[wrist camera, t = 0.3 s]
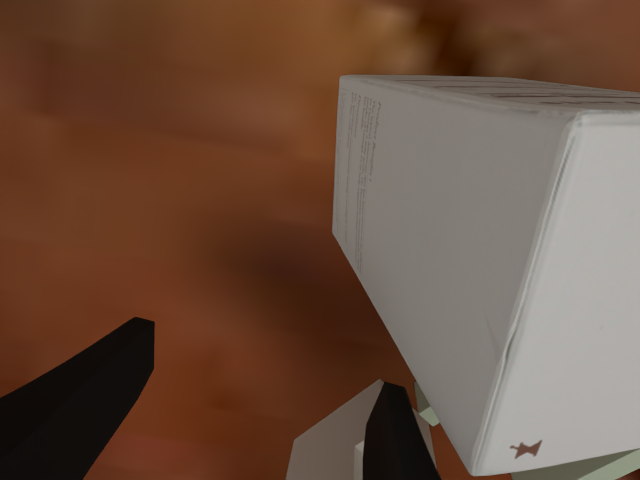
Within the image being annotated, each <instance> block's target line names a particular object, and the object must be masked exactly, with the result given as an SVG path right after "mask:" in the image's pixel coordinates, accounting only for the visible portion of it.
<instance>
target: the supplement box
mask: <svg viewBox="0 0 640 480" xmlns="http://www.w3.org/2000/svg"><path fill="white" fill-rule="evenodd" d="M332 234H333V235H334V236H335V238H336V240H337V241H338V243H339V245H340V247H341V249H342V251H343V252H344V254H345V256H346V258H347V259H348V261H349V263H350V265H351V266H352V268H353V270H354V271H355V273H356V275H357V277H358V279H359V280H360V282H361V284H362V286H363V287H364V289H365V291H366V293H367V294H368V296H369V298H370V300H371V302H372V304H373V305H374V307H375V309H376V310H377V312H378V314H379V316H380V317H381V319H382V321H383V323H384V324H385V326H386V328H387V330H388V331H389V333H390V335H391V337H392V339H393V340H394V342H395V344H396V346H397V347H398V349H399V351H400V353H401V354H402V356H403V358H404V360H405V362H406V363H407V365H408V367H409V369H410V370H411V372H412V374H413V376H414V377H415V379H416V381H417V383H418V384H419V386H420V388H421V390H422V392H423V393H424V395H425V397H426V399H427V400H428V402H429V404H430V406H431V408H432V409H433V411H434V413H435V415H436V416H437V418H438V420H439V422H440V423H441V425H442V427H443V429H444V431H445V432H446V434H447V436H448V438H449V439H450V441H451V443H452V445H453V446H454V448H455V450H456V452H457V453H458V455H459V457H460V459H461V460H462V462H463V464H464V466H465V467H466V469H467V471H468V472H469V474H471V475H472V476H485V475H496V474H504V473H512V472H520V471H526V470H531V469H537V468H543V467H549V466H554V465H559V464H564V463H569V462H574V461H579V460H584V459H589V458H594V457H599V456H604V455H609V454H613V453H618V452H622V451H628V450H633V449H638V448H640V93H639V92H629V91H619V90H610V89H601V88H593V87H584V86H576V85H567V84H558V83H550V82H541V81H533V80H525V79H516V78H506V77H467V76H428V75H343V76H341V77H340V80H339V98H338V112H337V133H336V156H335V179H334V202H333V225H332Z"/></svg>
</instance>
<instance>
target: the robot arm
mask: <svg viewBox="0 0 640 480" xmlns="http://www.w3.org/2000/svg"><path fill="white" fill-rule="evenodd" d="M154 327H155V322H154V321H150V320H146V319H142V318H138V317H134V318H132V319H131V320H129V321H127V322H126V323H124V324H123V325H121V326H120V327H118V328H117V329H115V330H114V331H112V332H111V333H109V334H108V335H106V336H105V337H103V338H102V339H100V340H99V341H97V342H96V343H94V344H93V345H91V346H90V347H88V348H86V349H85V350H83V351H82V352H80V353H78V354H77V355H75V356H74V357H72V358H70V359H69V360H67V361H66V362H64V363H62V364H61V365H59V366H57V367H56V368H54V369H52V370H50V371H49V372H47V373H45V374H43V375H42V376H40V377H38V378H36V379H35V380H33V381H31V382H29V383H28V384H26V385H24V386H22V387H20V388H18V389H16V390H15V391H13V392H11V393H9V394H7V395H5V396H3V397H1V398H0V480H83V478H84V477H85V475H86V474H87V472H88V470H89V469H90V468H91V466H92V465H93V463H94V462H95V460H96V459H97V457H98V456H99V455H100V453H101V452H102V450H103V449H104V447H105V446H106V444H107V443H108V442H109V440H110V439H111V437H112V436H113V434H114V433H115V432H116V430H117V429H118V427H119V426H120V424H121V423H122V421H123V420H124V419H125V417H126V416H127V414H128V413H129V411H130V410H131V408H132V407H133V405H134V404H135V402H136V401H137V399H138V398H139V396H140V394H141V392H142V390H143V388H144V387H145V385H146V383H147V381H148V379H149V377H150V375H151V373H152V371H153V369H154ZM363 480H441V478H440V475H439V473H438V471H437V469H436V467H435V464H434V462H433V460H432V457H431V455H430V453H429V450H428V448H427V446H426V443H425V441H424V438H423V436H422V433H421V431H420V428H419V425H418V423H417V420H416V417H415V415H414V412H413V409H412V406H411V403H410V401H409V398H408V395H407V392H406V390H405V388H404V387H402V386H398V385H394V384H390V383H386V382H384V384H383V386H382V389H381V391H380V393H379V396H378V398H377V400H376V402H375V405H374V407H373V409H372V412H371V414H370V416H369V419H368V421H367V423H366V430H365V439H364V449H363Z"/></svg>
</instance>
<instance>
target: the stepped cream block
mask: <svg viewBox="0 0 640 480" xmlns="http://www.w3.org/2000/svg"><path fill="white" fill-rule="evenodd" d="M383 384H384V382H383V381H382V380H381V379H379V380H377V381H376V382H374V383H373V384H372V385H370V386H369V387H367V388H366V389H365V390H363V391H362V392H360V393H359V394H358V395H356V396H355V397H353V398H352V399H351V400H349V401H348V402H346V403H345V404H344V405H342V406H341V407H339V408H338V409H337V410H335V411H334V412H332V413H331V414H330V415H328V416H327V417H325V418H324V419H323V420H321V421H320V422H318V423H317V424H316V425H314V426H313V427H311V428H310V429H309V430H307V431H306V432H304V433H303V434H302V435H300V436H299V437H297V438H296V439H295V440H294V442H293V447H292V452H291V456H290V461H289V466H288V471H287V475H286V480H363V449H364V439H365V430H366V423H367V421H368V419H369V416H370V414H371V412H372V409H373V407H374V405H375V402H376V400H377V398H378V396H379V393H380V391H381V389H382V386H383ZM412 409H413V408H412ZM413 412H414V415H415V417H416V420H417V423H418V425H419V428H420V431H421V433H422V436H423V438H424V441H425V443H426V446H427V448H428V450H429V453H430V455H431V457H432V460H433V462H434V464H435V467H436V462H435V457H434V451H433V445H432V440H431V434H430V428H429V423H428V422H427V421H426V420H425V419H424V418H423V417H421V416H420V415H419V413H418V412H417V411H416V410H415V409H413ZM436 469H437V468H436Z"/></svg>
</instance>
